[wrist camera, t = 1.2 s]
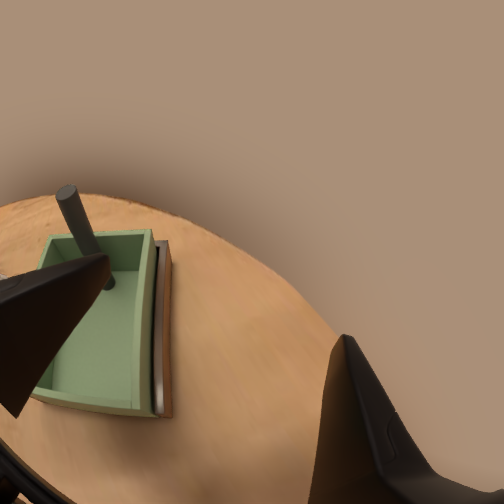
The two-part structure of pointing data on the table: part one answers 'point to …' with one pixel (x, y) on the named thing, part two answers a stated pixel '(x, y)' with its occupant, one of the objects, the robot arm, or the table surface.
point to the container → (105, 321)
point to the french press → (2, 276)
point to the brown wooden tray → (161, 333)
